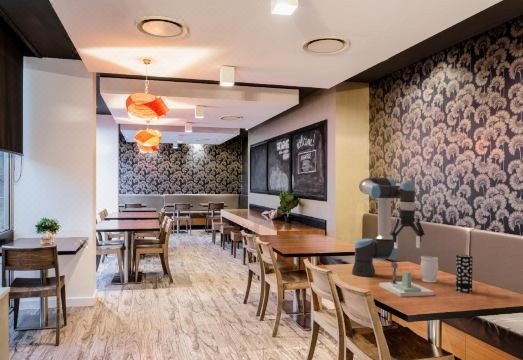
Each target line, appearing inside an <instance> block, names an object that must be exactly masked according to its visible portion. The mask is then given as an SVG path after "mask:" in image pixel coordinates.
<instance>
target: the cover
mask: <svg viewBox="0 0 523 360" xmlns="http://www.w3.org/2000/svg"><path fill="white" fill-rule="evenodd" d="M401 272H402V274H401V275H402V276H401V277H402V281H401V282H402V284H393V287H394V288H396V289H399V290H401V291H403V292H421V288H418V287H416V286H413V285H411V282H412V272H411V271H408V270H402V271H401Z"/></svg>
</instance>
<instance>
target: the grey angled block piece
mask: <svg viewBox="0 0 523 360" xmlns="http://www.w3.org/2000/svg"><path fill="white" fill-rule="evenodd" d="M390 266H391V268H392V282H393V283H396V282H402V278H401V277H400V278H399V277H397V275H396V274H397V269H398V266H399V265H398V263H397V262H396V261H391V265H390Z"/></svg>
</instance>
